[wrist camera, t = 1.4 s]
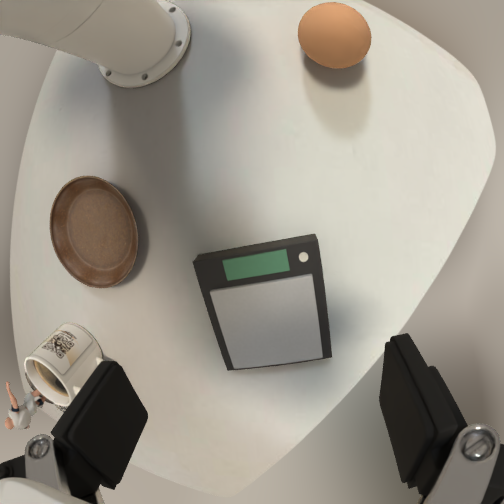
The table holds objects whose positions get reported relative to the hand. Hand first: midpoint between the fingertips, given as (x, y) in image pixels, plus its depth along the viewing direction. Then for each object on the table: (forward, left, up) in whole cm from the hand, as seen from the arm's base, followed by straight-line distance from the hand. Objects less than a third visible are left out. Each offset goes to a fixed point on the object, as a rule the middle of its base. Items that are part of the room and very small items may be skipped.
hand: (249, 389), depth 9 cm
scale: (+10, -2, -25) cm, 27 cm away
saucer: (-4, -22, -26) cm, 34 cm away
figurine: (+23, -52, -26) cm, 62 cm away
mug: (+15, -35, -26) cm, 46 cm away
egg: (-19, +11, -26) cm, 33 cm away
